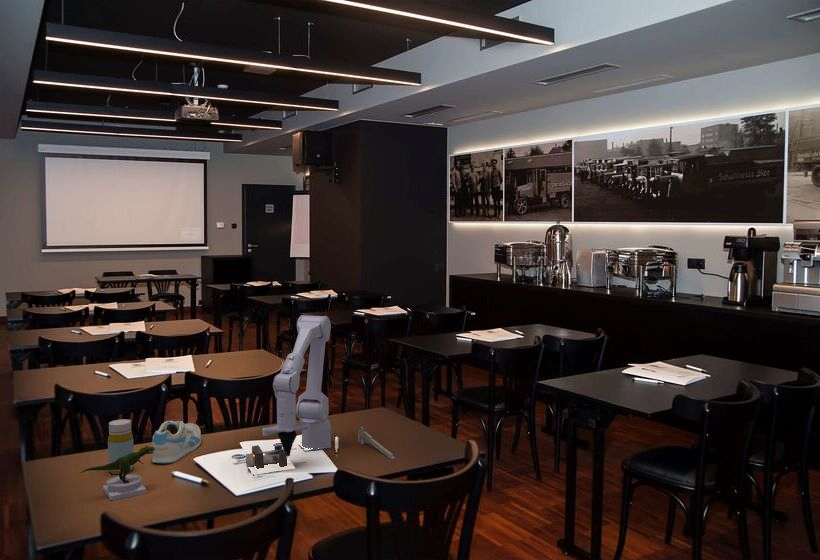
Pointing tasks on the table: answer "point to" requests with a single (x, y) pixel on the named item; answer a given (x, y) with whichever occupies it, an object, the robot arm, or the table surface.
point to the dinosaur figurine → (124, 476)
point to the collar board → (259, 456)
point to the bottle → (119, 441)
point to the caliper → (372, 442)
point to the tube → (268, 458)
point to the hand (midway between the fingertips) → (287, 455)
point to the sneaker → (175, 441)
